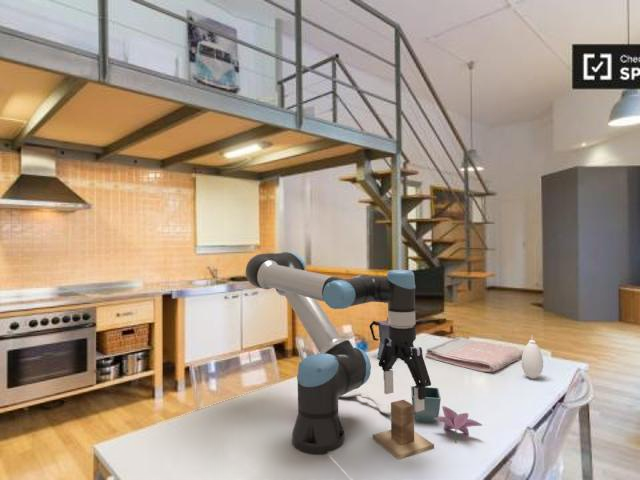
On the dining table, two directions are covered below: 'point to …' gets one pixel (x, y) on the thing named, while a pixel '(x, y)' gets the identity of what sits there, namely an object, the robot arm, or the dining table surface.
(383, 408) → the white spork
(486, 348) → the towel
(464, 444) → the dining table surface
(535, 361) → the white tall oval piece
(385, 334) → the moka pot
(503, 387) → the dining table surface
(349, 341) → the robot arm
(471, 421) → the lily
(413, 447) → the lid
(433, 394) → the flower pot
